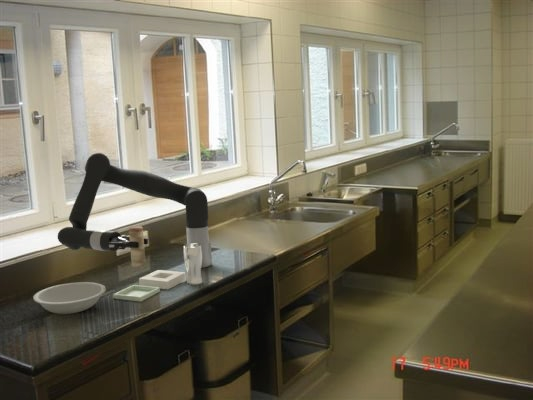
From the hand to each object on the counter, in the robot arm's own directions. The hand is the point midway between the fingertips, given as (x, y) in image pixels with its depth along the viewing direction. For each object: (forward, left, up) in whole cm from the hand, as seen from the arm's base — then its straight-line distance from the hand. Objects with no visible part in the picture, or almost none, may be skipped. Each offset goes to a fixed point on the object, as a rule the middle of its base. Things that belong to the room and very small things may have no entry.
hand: (142, 243), depth 228 cm
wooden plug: (+1, -2, -8) cm, 9 cm away
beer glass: (-21, -2, -20) cm, 29 cm away
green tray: (+3, -2, -20) cm, 20 cm away
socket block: (-11, -9, -20) cm, 24 cm away
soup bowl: (+27, -3, -20) cm, 34 cm away
